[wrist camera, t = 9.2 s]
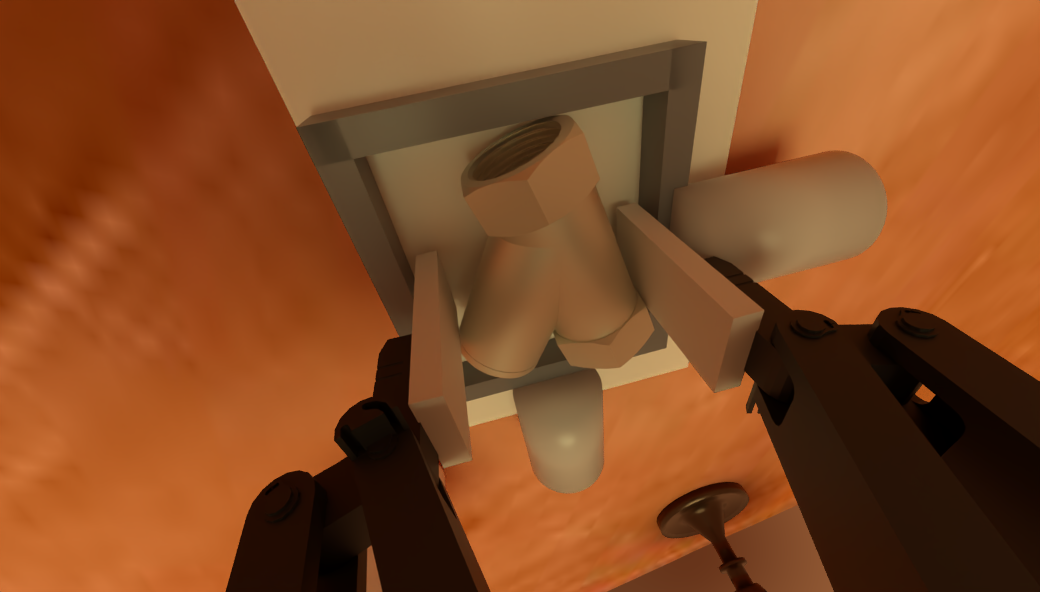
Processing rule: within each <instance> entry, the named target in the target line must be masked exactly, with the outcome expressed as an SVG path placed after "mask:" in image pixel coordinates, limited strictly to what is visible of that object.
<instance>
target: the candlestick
mask: <svg viewBox="0 0 1040 592" xmlns="http://www.w3.org/2000/svg"><path fill="white" fill-rule="evenodd" d="M748 502H749V497H748V495H747V493H746V492H745V491H744V489H743V488H742V486H741V485H739V484H737V483H733V482H725V483H717V484H712V485H709V486H705V487H702V488H699V489H697V490H694V491H692V492H690V493H688V494H686V495H684V496H682V497H680V498H678V499H677V500H675V501H674V502H672V503H671V504H669V505H668V506H667V507H666V508H665V509H664V510H663V511H662V512H661V513H660V514H659V516H658V518H657V524H658V526H659V528H660V530H661V533H662V534H663V535H664V536H665V537H668V538H683V537H689V536H693V535H697V534H701V535H702V536H704V537H705V538H706V539H708V540H709V541H710V542H711V543H712V544H713V546H714V548H715V549H716V552H717V553H718V555H719V557H720V559H721V561H722V563H723V564H722V565H721V566H720V567H719V570H720V572H721V573H723V574H724V573H727V574H728V576H729V577H730V579H731V581H732V583H733V585H734V587H735V588H736V591H735V592H767V591H766V590H765V589H764V588H763V587H761V585H759V584H758V583H753V582H752V580H751V578H750V577H749V575H748V573H747V572H746V570H745V568H744V566H745V565H746V564H747V562H746V560H745V558H743V557H741V558H737V557H736V555H735V553H734V551H733V550H732V548H731V546H730V544H729V543H728V541H727V539H726V538H725V531H724V523H725V522H727V521H729V520H730V519H732V518H733V517H735V516H736V515H737V514H739V513H740V512H741V511H742V510H743V509H744V508H745V507H746V506H747V504H748Z"/></svg>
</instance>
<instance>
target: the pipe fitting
mask: <svg viewBox="0 0 1040 592" xmlns="http://www.w3.org/2000/svg"><path fill="white" fill-rule="evenodd" d="M599 180H600V177H599V174H598V172H597V169H596V166H595V163H594V160H593V158H592V155H591V152H590V149H589V147H588V144H587V141H586V138H585V136H584V133H583V131H582V130H581V129H580V127H579V126H578V124H577V123H576V122H575V121H574V120H573V119H572V118H571V117H570V116H569V115H554V116H549V117H545V118H542V119H538V120H536V121H533V122H530V123H528V124H526V125H523V126H521V127H519V128H517V129H515V130H513V131H511V132H510V133H508V134H506V135H504V136H503V137H501V138H500V139H498V140H496V141H495V142H493V143H492V144H491V145H489V146H488V147H487V148H485V149H484V150H483V151H482V152H480V153H479V154H478V155H477V156H476V157H475V158H474V159H473V160H472V161H471V162H470V163H469V164H468V165H467V167H466V168H465V169H464V171H463V173H462V174H461V187H462V192H463V196H464V199H465V201H466V202H467V204H468V205H469V207H470V208H471V210H472V212H473V213H474V215H475V216H476V218H477V219H478V221H479V223H480V224H481V226H482V227H483V229H484V230H485V232H486V234H487V235H488V238H487V241H486V245H485V248H484V251H483V254H482V257H481V261H480V264H479V267H478V270H477V273H476V277H475V280H474V283H473V286H472V289H471V293H470V296H469V299H468V302H467V305H466V309H465V312H464V315H463V318H462V321H461V324H460V328H459V336H460V345H461V354H462V355H463V357H464V358H465V359H466V360H467V361H468V362H469V363H470V364H471V365H472V366H474V367H475V368H476V369H478V370H480V371H482V372H483V373H486V374H488V375H491V376H494V377H499V378H518V377H522V376H524V375H526V374H528V373H530V372H531V371H532V370H533V369H534V368H535V366H536V365H537V363H538V361H539V359H540V357H541V355H542V353H543V351H544V349H545V347H546V345H547V343H548V341H549V339H550V337H551V335H552V333H553V334H554V337H555V339H556V342H557V345H558V347H559V348H560V350H561V351H562V353H563V355H564V356H565V358H566V359H567V361H568V362H569V364H570V365H571V366H577V367H583V368H593V369H611V368H621V367H622V366H623V365H624V364H625V363H627V362H628V361H629V360H630V359H631V358H632V357H633V356H634V355H635V354H636V353H637V352H638V351H639V350H640V349H641V348H642V346H643V345H644V344H645V343H646V341H647V340H648V339H649V337H650V336H651V334H652V333H653V331H654V330H655V329H654V327H653V324H652V321H651V318H650V316H649V313H648V310H647V307H646V305H645V303H644V302H643V300H642V298H641V297H640V295H639V293H638V292H637V290H636V288H635V287H634V285H633V284H632V281H631V278H630V276H629V273H628V270H627V268H626V265H625V262H624V260H623V257H622V254H621V252H620V249H619V246H618V243H617V241H616V238H615V235H614V233H613V230H612V227H611V225H610V222H609V219H608V217H607V214H606V211H605V209H604V206H603V203H602V201H601V198H600V195H599V193H598V190H597V187H596V184H597V183H598V181H599Z"/></svg>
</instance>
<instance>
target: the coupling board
mask: <svg viewBox="0 0 1040 592" xmlns="http://www.w3.org/2000/svg"><path fill="white" fill-rule="evenodd" d="M234 1H235V3H236V5H237V8H238V10H239V12H240V14H241V16H242V18H243V20H244V22H245V24H246V26H247V28H248V30H249V32H250V34H251V36H252V38H253V40H254V42H255V44H256V46H257V48H258V50H259V52H260V54H261V56H262V58H263V60H264V62H265V64H266V66H267V68H268V70H269V72H270V74H271V76H272V78H273V80H274V82H275V84H276V86H277V89H278V91H279V93H280V95H281V97H282V99H283V101H284V103H285V105H286V107H287V109H288V111H289V113H290V115H291V117H292V119H293V121H294V123H295V125H296V129H297V131H298V133H299V135H300V137H301V139H302V141H303V143H304V145H305V147H306V149H307V151H308V153H309V155H310V157H311V159H312V161H313V163H314V165H315V167H316V169H317V171H318V173H319V175H320V177H321V179H322V181H323V183H324V185H325V187H326V189H327V191H328V193H329V195H330V197H331V199H332V201H333V203H334V205H335V207H336V209H337V211H338V213H339V215H340V217H341V219H342V221H343V224H344V226H345V228H346V230H347V232H348V234H349V236H350V238H351V240H352V242H353V244H354V246H355V248H356V250H357V252H358V254H359V256H360V258H361V260H362V262H363V264H364V266H365V268H366V270H367V272H368V274H369V276H370V278H371V280H372V282H373V284H374V286H375V288H376V290H377V292H378V294H379V296H380V298H381V300H382V302H383V304H384V306H385V308H386V310H387V312H388V314H389V316H390V318H391V320H392V322H393V325H394V327H395V329H396V331H397V333H398V335H399V337H401V336H405V335H409V334H412V322H413V302H414V283H415V263H416V255H419V254H423V253H427V252H432V251H436V250H437V252H438V255H439V258H440V261H441V264H442V267H443V270H444V273H445V276H446V279H447V281H448V284H449V287H450V290H451V293H452V296H453V299H454V302H455V305H456V308H457V316H458V326H459V328H460V324H461V321H462V318H463V315H464V312H465V309H466V305H467V302H468V299H469V296H470V293H471V289H472V286H473V283H474V280H475V277H476V273H477V270H478V267H479V264H480V261H481V257H482V254H483V251H484V248H485V245H486V241H487V238H488V235H487V234H486V232H485V230H484V229H483V227H482V226H481V224H480V223H479V221H478V219H477V218H476V216H475V215H474V213H473V212H472V210H471V208H470V207H469V205H468V204H467V202H466V201H465V199H464V196H463V192H462V187H461V174H462V173H463V171H464V169H465V168H466V167H467V165H468V164H469V163H470V162H471V161H472V160H473V159H474V158H475V157H476V156H477V155H478V154H479V153H480V152H482V151H483V150H484V149H485V148H487V147H488V146H489V145H491V144H492V143H493V142H495V141H496V140H498V139H500V138H501V137H503V136H504V135H506V134H508V133H510V132H511V131H513V130H515V129H517V128H519V127H521V126H523V125H526V124H528V123H530V122H533V121H536V120H538V119H542V118H545V117H549V116H554V115H569V116H570V117H571V118H572V119H573V120H574V121H575V122H576V123H577V124H578V126H579V127H580V129H581V130H582V131H583V133H584V136H585V138H586V141H587V144H588V147H589V149H590V152H591V155H592V158H593V160H594V163H595V166H596V169H597V172H598V174H599V177H600V180H599V181H598V183H597V184H596V187H597V190H598V193H599V195H600V198H601V201H602V203H603V206H604V209H605V211H606V214H607V217H608V219H609V222H610V225H611V227H612V230H613V233H614V235H615V238H616V241H617V207H620V206H624V205H628V204H633V203H637V204H638V205H639V206H641V207H642V208H643V209H644V210H645V211H647V212H648V213H649V214H650V215H651V216H653V217H654V218H655V219H656V220H657V221H659V222H660V223H661V224H662V225H663V226H665V227H666V228H667V229H668V230H669V231H670V232H672V233H673V234H674V235H675V236H676V237H678V238H679V239H680V240H681V241H682V242H684V243H685V244H686V245H687V246H688V247H690V248H691V249H692V250H693V251H694V252H696V253H697V254H698V255H699V256H700V257H701V258H703V259H705V258H709V257H713V256H715V257H718V258H720V259H723V260H725V261H728V262H730V263H732V264H733V265H734V266H736V267H737V268H738V269H740V270H741V271H742V272H743V274H744V275H745V274H746V275H747V276H749V277H750V278H751V279H753V281H754V282H756V283H758V282H761V281H765V280H769V279H773V278H777V277H781V276H784V275H788V274H792V273H796V272H800V271H804V270H808V269H811V268H815V267H819V266H823V265H827V264H831V263H834V262H838V261H842V260H846V259H849V258H852V257H855V256H857V255H859V254H861V253H862V252H864V251H865V250H867V249H868V248H869V247H870V246H871V245H872V244H873V243H874V242H875V240H876V239H877V238H878V236H879V234H880V233H881V231H882V228H883V226H884V223H885V219H886V214H887V197H886V191H885V188H884V185H883V183H882V181H881V179H880V177H879V175H878V174H877V172H876V171H875V169H874V168H873V167H872V166H871V165H870V164H869V163H868V162H866V161H865V160H864V159H862V158H860V157H859V156H857V155H854V154H852V153H849V152H845V151H827V152H822V153H818V154H814V155H809V156H805V157H801V158H797V159H793V160H788V161H784V162H780V163H776V164H772V165H767V166H763V167H759V168H755V169H750V170H746V171H742V172H738V173H734V174H729V175H725V170H726V165H727V160H728V155H729V150H730V144H731V139H732V134H733V129H734V124H735V118H736V113H737V108H738V103H739V98H740V92H741V87H742V82H743V77H744V72H745V66H746V61H747V56H748V51H749V45H750V40H751V35H752V30H753V25H754V19H755V14H756V9H757V4H758V0H234ZM647 310H648V313H649V316H650V318H651V321H652V324H653V327H654V329H655V330H654V331H653V333H652V334H651V336H650V337H649V339H648V340H647V341H646V343H645V344H644V345H643V346H642V348H641V349H640V350H639V351H638V352H637V353H636V354H635V355H634V356H633V357H632V358H631V359H630V360H629V361H628V362H627V363H625V364H624V365H623V366H622V367H621V368H611V369H593V368H583V367H577V366H571V365H570V364H569V362H568V361H567V359H566V358H565V356H564V355H563V353H562V351H561V350H560V348H559V347H558V345H557V342H556V339H555V337H554V334H553V333H552V335H551V337H550V339H549V341H548V343H547V345H546V347H545V349H544V351H543V353H542V355H541V357H540V359H539V361H538V363H537V365H536V366H535V368H534V369H533V370H532V371H531V372H530V373H528V374H526V375H524V376H522V377H518V378H499V377H494V376H491V375H488V374H486V373H483V372H482V371H480V370H478V369H476V368H475V367H474V366H472V365H471V364H470V363H469V362H468V361H467V360H466V359H465V358H464V357H463V355H462V354H461V355H462V365H463V374H464V384H465V394H466V403H467V413H468V422H469V427H470V426H474V425H478V424H481V423H485V422H489V421H492V420H496V419H500V418H503V417H507V416H511V415H514V414H518V417H519V421H520V425H521V428H522V432H523V436H524V440H525V443H526V447H527V451H528V455H529V458H530V462H531V466H532V469H533V471H534V474H535V475H536V477H537V478H538V479H539V481H540V482H541V483H542V484H543V485H545V486H546V487H548V488H549V489H551V490H553V491H556V492H560V493H576V492H580V491H582V490H585V489H586V488H588V487H590V486H591V485H592V484H593V483H594V482H595V481H596V480H597V479H598V477H599V476H600V474H601V472H602V469H603V465H604V433H603V390H606V389H609V388H613V387H617V386H620V385H624V384H628V383H631V382H635V381H639V380H642V379H646V378H650V377H653V376H657V375H661V374H664V373H668V372H672V371H675V370H679V369H683V368H686V367H688V363H689V360H688V359H687V358H686V356H685V355H684V354H683V353H682V351H681V350H680V349H679V348H678V346H677V345H676V344H675V342H674V341H673V340H672V339H671V337H670V336H669V335H668V334H667V332H666V331H665V330H664V328H663V327H662V326H661V325H660V323H659V322H658V321H657V320H656V318H655V317H654V316H653V314H652V313H651V312H650V311H649V309H648V308H647Z"/></svg>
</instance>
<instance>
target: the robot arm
mask: <svg viewBox="0 0 1040 592" xmlns="http://www.w3.org/2000/svg"><path fill="white" fill-rule="evenodd" d="M617 243H618V246H619V249H620V252H621V254H622V257H623V260H624V262H625V265H626V268H627V270H628V273H629V276H630V278H631V281H632V284H633V285H634V287H635V288H636V290H637V292H638V293H639V295H640V297H641V298H642V300H643V302H644V303H645V305H646V307H647V308H648V309H649V311H650V312H651V313H652V314H653V316H654V317H655V318H656V320H657V321H658V322H659V323H660V325H661V326H662V327H663V328H664V330H665V331H666V332H667V334H668V335H669V336H670V337H671V339H672V340H673V341H674V342H675V344H676V345H677V346H678V348H679V349H680V350H681V351H682V353H683V354H684V355H685V356H686V358H687V359H688V360H689V362H690V363H691V364H692V365H693V367H694V368H695V369H696V370H697V372H698V373H699V374H700V376H701V377H702V378H703V379H704V381H705V382H706V383H707V385H708V386H709V387H710V388H711V390H712V391H713V392H714V393H716V392H720V391H723V390H727V389H730V388H734V387H738V386H740V384H741V381H742V378H743V375H744V372H746V373H747V374H748V375H749V376H750V377H751V378H752V379H753V380H754V381H755V382H754V385H753V387H752V390H751V393H750V396H749V399H748V401H747V404H746V411H747V413H752V410H753V408H754V405H755V402H756V404H757V407H758V414H761V416H762V419H763V421H764V424H765V426H766V428H767V431H768V433H769V436H770V438H771V441H772V443H773V445H774V448H775V450H776V453H777V455H778V457H779V460H780V462H781V465H782V467H783V469H784V472H785V474H786V477H787V479H788V482H789V484H790V486H791V489H792V491H793V494H794V496H795V498H796V501H797V503H798V506H799V508H800V510H801V513H802V515H803V518H804V520H805V523H806V525H807V527H808V530H809V532H810V535H811V537H812V539H813V541H814V544H815V547H816V549H817V551H818V554H819V556H820V559H821V561H822V564H823V566H824V568H825V571H826V573H827V576H828V578H829V580H830V583H831V585H832V587H833V590H834V592H1040V381H1038V380H1036V379H1035V378H1033V377H1032V376H1030V375H1029V374H1027V373H1026V372H1024V371H1022V370H1021V369H1019V368H1018V367H1016V366H1015V365H1013V364H1012V363H1010V362H1008V361H1007V360H1005V359H1004V358H1002V357H1001V356H999V355H998V354H996V353H995V352H993V351H991V350H990V349H988V348H987V347H985V346H984V345H982V344H981V343H979V342H977V341H976V340H974V339H973V338H971V337H970V336H968V335H967V334H965V333H963V332H962V331H960V330H959V329H957V328H956V327H954V326H953V325H951V324H949V323H948V322H946V321H945V320H943V319H941V318H939V317H937V316H935V315H933V314H930V313H927V312H924V311H920V310H917V309H910V308H904V307H898V308H888V309H886V310H883V311H881V312H880V313H879V315H878V316H877V318H876V320H875V321H874V323H873V324H861V325H838V324H837V323H836V322H835V321H834V320H832V319H830V318H828V317H826V316H824V315H822V314H819V313H815V312H812V311H805V310H791V309H790V308H789V307H787V306H786V305H785V304H784V303H782V302H781V301H780V300H778V299H777V298H776V297H775V296H773V295H772V294H771V293H769V292H768V291H767V290H765V289H764V288H763V287H762V286H760V285H759V284H758V283H756V282H754V281H753V279H751V278H750V277H749V276H747V275H746V274H745V275H744V274H743V272H742V271H741V270H740V269H738V268H737V267H736V266H734V265H733V264H732V263H730V262H728V261H725V260H723V259H720V258H718V257H715V256H713V257H709V258H705V259H703V258H701V257H700V256H699V255H698V254H697V253H696V252H694V251H693V250H692V249H691V248H690V247H688V246H687V245H686V244H685V243H684V242H682V241H681V240H680V239H679V238H678V237H676V236H675V235H674V234H673V233H672V232H670V231H669V230H668V229H667V228H666V227H665V226H663V225H662V224H661V223H660V222H659V221H657V220H656V219H655V218H654V217H653V216H651V215H650V214H649V213H648V212H647V211H645V210H644V209H643V208H642V207H641V206H639V205H638V204H637V203H633V204H628V205H624V206H620V207H617ZM377 369H378V370H377V372H376V378H375V379H376V382H375V385H374V392H373V397H370V398H367V399H365V400H362V401H360V402H358V403H357V404H355V405H354V406H353V407H351V408H350V409H349V410H348V411H347V412H346V413H345V414H344V415H343V416H342V417H341V418H340V420H339V422H338V424H337V426H336V428H335V436H334V441H335V442H336V443H337V444H338V445H339V447H340V448H341V449H342V450H343V451H344V452H345V454H346V455H347V457H346V458H344V459H343V460H341V461H340V462H338V463H337V464H335V465H333V466H331V467H330V468H328V469H326V470H324V471H323V472H321V473H319V474H317V475H316V476H314V477H312V476H311V475H310V474H309V473H307V472H303V471H300V470H299V471H294V472H289V473H286V474H284V475H282V476H280V477H278V478H276V479H275V480H273V481H272V482H271V483H270V484H269V485H268V486H266V487H265V488H264V489H263V490H262V491H261V492H260V494H259V495H258V496H257V498H256V499H255V500H254V501H253V503H252V505H251V507H250V510H249V512H248V514H247V517H246V520H245V524H244V527H243V531H242V535H241V538H240V542H239V545H238V549H237V553H236V556H235V560H234V563H233V567H232V571H231V574H230V578H229V581H228V585H227V589H226V592H366V586H367V548H368V547H370V546H371V545H372V549H373V554H374V558H375V562H376V566H377V571H378V575H379V579H380V584H381V588H382V592H490V589H489V587H488V585H487V582H486V580H485V578H484V576H483V573H482V571H481V569H480V566H479V564H478V562H477V560H476V557H475V555H474V553H473V550H472V548H471V546H470V544H469V541H468V539H467V537H466V534H465V532H464V530H463V528H462V525H461V523H460V521H459V518H458V516H457V514H456V512H455V509H454V507H453V505H452V502H451V500H450V498H449V495H448V493H447V491H446V489H445V486H444V484H443V482H442V481H441V479H440V477H439V460H440V462H441V464H442V466H443V468H446V467H450V466H454V465H457V464H461V463H464V462H468V461H471V460H472V451H471V442H470V432H469V422H468V413H467V403H466V394H465V384H464V374H463V365H462V355H461V345H460V336H459V326H458V316H457V308H456V305H455V302H454V299H453V296H452V293H451V290H450V287H449V284H448V281H447V279H446V276H445V273H444V270H443V267H442V264H441V261H440V258H439V255H438V252H437V250H436V251H432V252H427V253H423V254H419V255H416V263H415V283H414V302H413V322H412V334H409V335H405V336H401V337H397V338H393V339H389V340H387V342H386V344H385V345H384V347H383V348H382V350H381V352H380V353H379V358H378V365H377ZM922 384H923V385H924V386H926V387H927V388H928V389H929V390H931V391H932V392H933V393H934V394H935V397H934V398H933V399H932V400H931V401H930V402H926V401H924V400H922V399H920V398H919V397H918V396H916V395H915V393H916V392H917V391H918V389H919V388H920V387H921V386H922Z"/></svg>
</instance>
